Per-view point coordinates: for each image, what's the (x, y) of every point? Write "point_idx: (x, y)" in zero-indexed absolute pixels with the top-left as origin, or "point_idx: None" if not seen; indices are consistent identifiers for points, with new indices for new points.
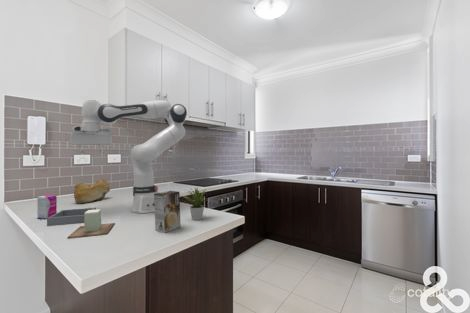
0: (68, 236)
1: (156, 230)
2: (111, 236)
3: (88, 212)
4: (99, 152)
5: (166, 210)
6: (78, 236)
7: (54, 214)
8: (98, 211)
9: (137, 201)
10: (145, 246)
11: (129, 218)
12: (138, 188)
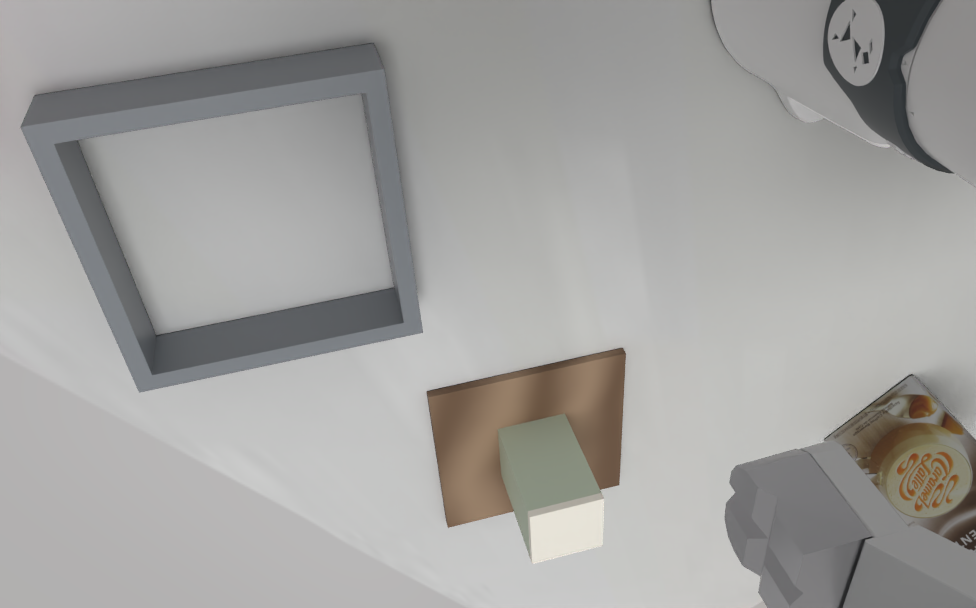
0: (448, 521)
1: None
2: (639, 497)
3: (552, 555)
4: (731, 538)
5: None
6: (494, 514)
7: (99, 292)
8: (602, 536)
9: (825, 104)
10: None
11: (702, 236)
12: (930, 167)
